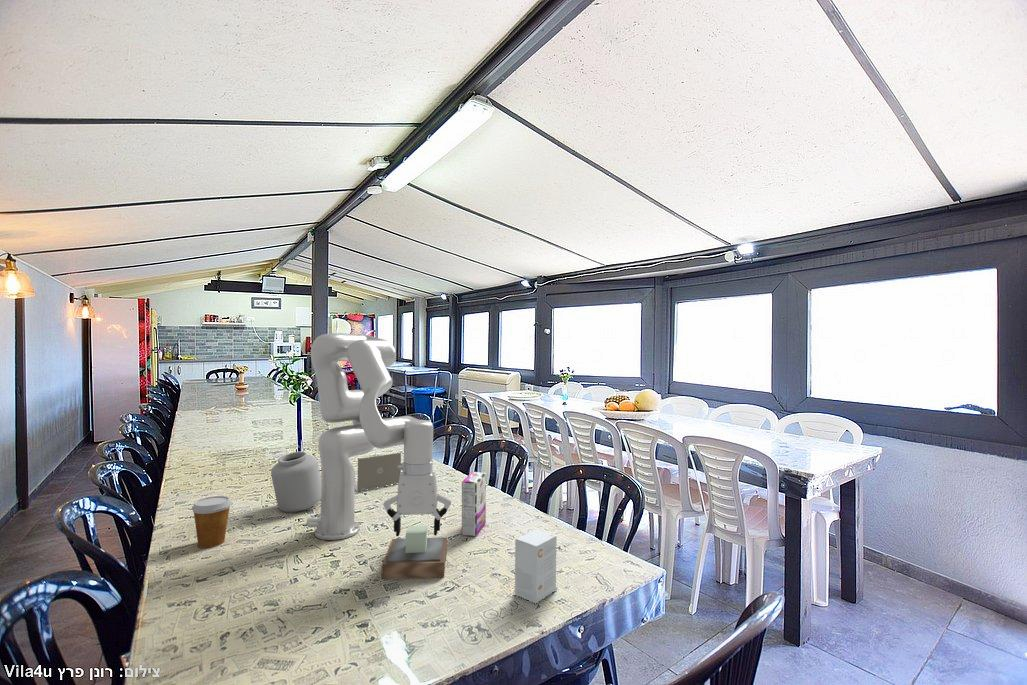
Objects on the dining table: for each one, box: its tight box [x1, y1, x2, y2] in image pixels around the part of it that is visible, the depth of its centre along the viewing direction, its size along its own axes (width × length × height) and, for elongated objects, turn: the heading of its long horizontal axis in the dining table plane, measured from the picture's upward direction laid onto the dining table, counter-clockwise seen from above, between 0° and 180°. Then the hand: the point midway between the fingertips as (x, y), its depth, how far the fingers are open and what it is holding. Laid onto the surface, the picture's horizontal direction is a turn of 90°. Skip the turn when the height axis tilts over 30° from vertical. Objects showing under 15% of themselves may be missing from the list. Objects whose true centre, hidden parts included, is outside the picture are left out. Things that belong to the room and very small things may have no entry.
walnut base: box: [381, 536, 448, 580], centre depth 122 cm, size 15×15×4 cm
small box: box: [514, 528, 558, 605], centre depth 109 cm, size 8×6×13 cm
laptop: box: [355, 452, 402, 492], centre depth 190 cm, size 18×12×13 cm
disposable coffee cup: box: [191, 495, 233, 549], centre depth 132 cm, size 10×10×12 cm
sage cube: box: [405, 524, 428, 553], centre depth 122 cm, size 5×5×5 cm
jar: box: [270, 436, 321, 519], centre depth 160 cm, size 19×15×25 cm
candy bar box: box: [461, 471, 487, 538], centre depth 145 cm, size 11×5×16 cm, turn 168°
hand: (417, 533), depth 122 cm, fingers open, 9 cm apart
